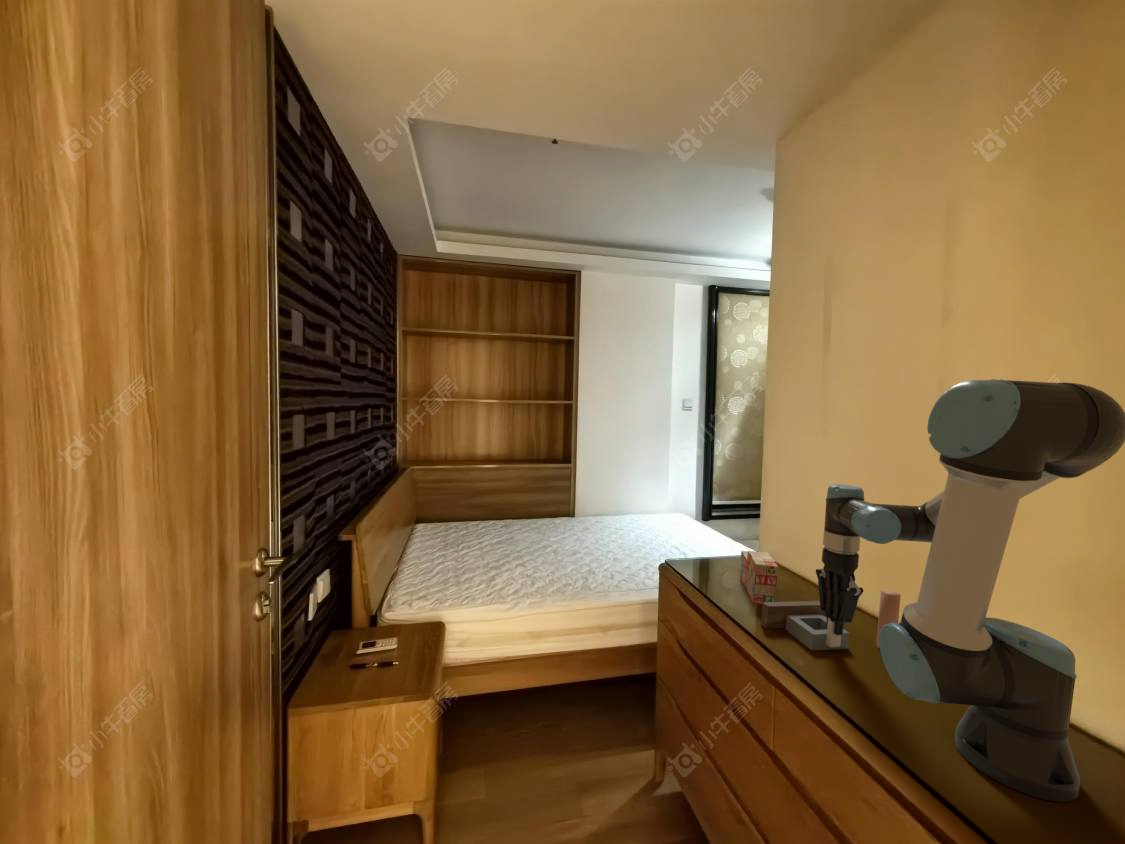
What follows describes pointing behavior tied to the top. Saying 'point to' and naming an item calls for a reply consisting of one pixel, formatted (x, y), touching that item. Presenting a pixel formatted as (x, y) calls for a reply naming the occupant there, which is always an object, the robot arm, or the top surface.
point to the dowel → (888, 610)
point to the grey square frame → (813, 631)
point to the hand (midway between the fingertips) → (833, 645)
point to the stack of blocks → (759, 576)
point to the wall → (787, 612)
